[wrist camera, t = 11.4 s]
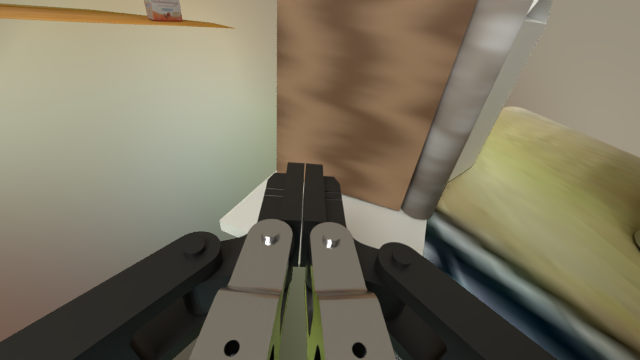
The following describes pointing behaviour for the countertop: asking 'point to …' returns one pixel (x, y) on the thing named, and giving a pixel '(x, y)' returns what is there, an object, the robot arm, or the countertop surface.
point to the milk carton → (504, 83)
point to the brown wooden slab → (387, 90)
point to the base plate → (361, 220)
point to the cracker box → (163, 10)
